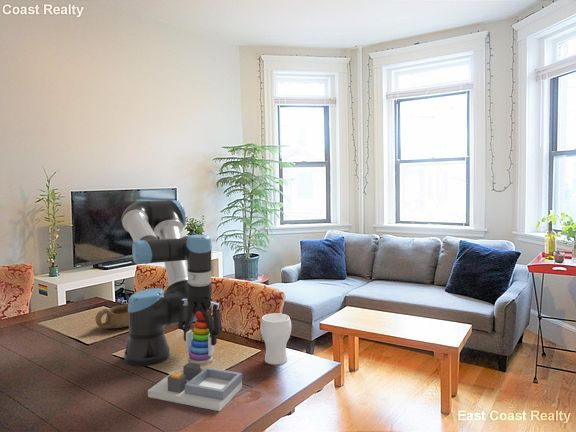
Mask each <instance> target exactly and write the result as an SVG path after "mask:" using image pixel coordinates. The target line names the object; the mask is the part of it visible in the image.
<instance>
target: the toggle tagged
mask: <svg viewBox="0 0 576 432" xmlns="http://www.w3.org/2000/svg"><path fill="white" fill-rule="evenodd" d="M173 372H174V371H173ZM170 374H171V373H170ZM170 374H169V375H170ZM185 384H186V375H184V374H183V373H181V372H174V373H173V374H171V375H170V376H169V377H168V391H172V392H177V393H181V392H182V391H183V390H184V389H185Z"/></svg>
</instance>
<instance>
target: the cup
mask: <svg viewBox="0 0 576 432" xmlns="http://www.w3.org/2000/svg"><path fill="white" fill-rule="evenodd" d="M259 330H260V333H261V334H260V335H261V337H262V340H263V341H264V345H265V355H264V362H265V363H267V364H269V365H282V364H285V363H286V362H287V361H288V356H287V355H288V354H287V343H288V341H289V339H290V337H291V334H292V321H291V318H290V316H289V315H288V314H285V313H278V312H277V313H276V312H275V313H273V312H272V313H266V314H264V315H263V316H262V317H261V320H260V329H259Z"/></svg>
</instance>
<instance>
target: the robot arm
mask: <svg viewBox="0 0 576 432" xmlns="http://www.w3.org/2000/svg"><path fill="white" fill-rule="evenodd" d="M120 220H121V225H122V227H123V229H124V230H125V231H126V232H127V233H129V235H130V237H131V239H132V241H133V243H132V248H131V249H132V250H131V251H132V260H133V262H134V263H135V264H136V265H142V264H144V265H148V264H149V265H150V264H158V263H159V264H160V263H164V267H165V272H166V277H167V282H168V285H167V287H166V288H165V292H164V289H162V288H160V287H156V288H153V287H152V288H146V289H142V290H139V291H136V292H135V293H133V294H132V295H130V296H129V298H128V301H127V304H128V312H129V326H128V335H129V337H128V340H127V344H126V347H125V350H124V354H123V355H124V356H123V357H124V362H125V363H126V364H127V365H128V366H134V367H147V366H154V365H157V364H160V363H163V362H165V361H167V360H168V359H169V358H170V356H171V349H170V346H169V344H168V339H167V338H166V335H165V327H167V326H172V325H177V326H178V327H177V329H179V330H182V331H183V340H184V342H185V352H186V353H189V351H190V346H191V345H192V344H191V341H192V339H193V329H192V324H193V322H195V321H196V320H198V319H197V318H196V316H195V312H197V311H200V312H201V313H202V315H203V316H204V318H205V321H206V324H207V327H208V329H209V332H210V335H209V336H208V356H211V355H212V356H213V355H214V354H215V346H216V344H217V341H218V340H217V339H218V337H217V336H218V335H220V334H221V333H222V332H223V326H222V320H221V312H220V311H221V310H220V309H221V303H220V302H215V301H213V299H212V293H213V292H212V291H213V290H212V279H213V278H212V248H213V245H212V238H211V236H209V235H207V234H192V235H184V236H182V231H183V230H184V227H185V226H186V223H187V216H186V210H185V208H184V205H183V204H182V202H181V201H179V200H173V199H167V200H141V201H140V200H139V201H137V202H133V203H132V204H130V205H128V206H127V207H126V208H125V210H124V211H123V213H122V215H121V219H120ZM208 309H209V311H208V312H206V311H207V310H208Z"/></svg>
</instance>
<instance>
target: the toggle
mask: <svg viewBox="0 0 576 432" xmlns="http://www.w3.org/2000/svg"><path fill="white" fill-rule="evenodd" d="M182 371H183V374H184V375H186V380H189V381H190V380H191V379H193V378H194V377H195V376H196V375H198V374H199V373H200V372H201V366H200V364H194V363H189V362H187V363H186V364H184V365H183V370H182Z"/></svg>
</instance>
